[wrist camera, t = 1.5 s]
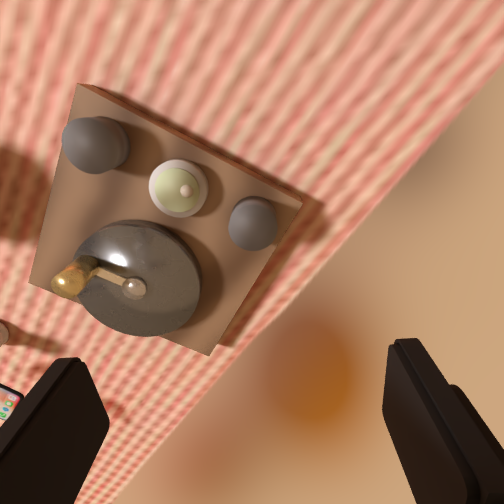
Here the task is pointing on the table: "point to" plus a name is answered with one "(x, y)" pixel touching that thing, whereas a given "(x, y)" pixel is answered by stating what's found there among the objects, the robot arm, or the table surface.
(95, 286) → the silver metal dome
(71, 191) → the levelling base
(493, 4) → the table surface
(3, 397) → the smartphone
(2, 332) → the rook chess piece
